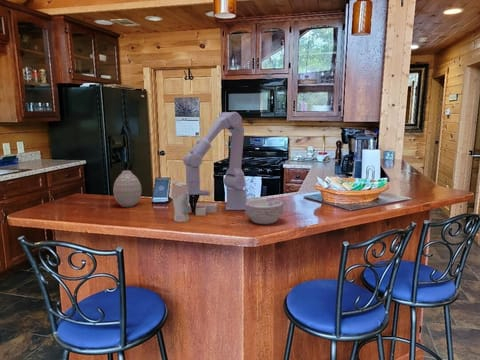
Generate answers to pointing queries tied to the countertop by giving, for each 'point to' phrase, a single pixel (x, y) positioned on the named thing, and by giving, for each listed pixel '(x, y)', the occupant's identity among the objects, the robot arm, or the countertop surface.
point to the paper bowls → (264, 210)
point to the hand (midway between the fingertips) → (193, 212)
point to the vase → (127, 189)
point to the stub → (200, 210)
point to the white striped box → (209, 207)
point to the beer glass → (180, 201)
